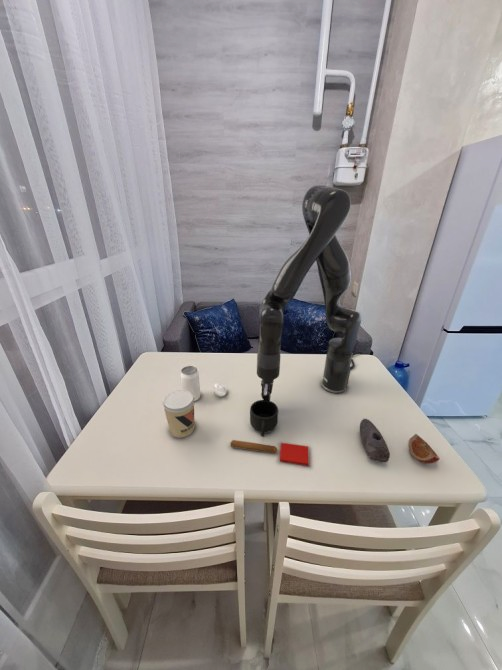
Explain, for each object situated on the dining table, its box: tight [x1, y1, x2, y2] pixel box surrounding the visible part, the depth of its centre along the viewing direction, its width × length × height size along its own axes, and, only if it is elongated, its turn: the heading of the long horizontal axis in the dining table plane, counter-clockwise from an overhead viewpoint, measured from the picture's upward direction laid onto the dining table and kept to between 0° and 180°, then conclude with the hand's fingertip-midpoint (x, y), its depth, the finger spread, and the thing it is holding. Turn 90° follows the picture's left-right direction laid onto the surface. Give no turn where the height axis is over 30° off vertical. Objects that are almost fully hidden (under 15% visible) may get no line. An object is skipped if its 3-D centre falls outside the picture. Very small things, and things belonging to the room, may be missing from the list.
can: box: [180, 365, 201, 402], centre depth 97 cm, size 6×6×12 cm
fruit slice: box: [408, 433, 440, 464], centre depth 75 cm, size 8×7×5 cm
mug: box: [249, 399, 279, 437], centre depth 84 cm, size 12×9×7 cm
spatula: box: [230, 439, 310, 467], centre depth 77 cm, size 23×6×2 cm, turn 80°
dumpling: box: [213, 382, 227, 398], centre depth 101 cm, size 7×5×4 cm
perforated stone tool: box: [359, 418, 391, 464], centre depth 78 cm, size 15×5×7 cm, turn 176°
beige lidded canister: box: [162, 389, 195, 439], centre depth 83 cm, size 9×9×12 cm
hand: (266, 404), depth 93 cm, fingers closed
